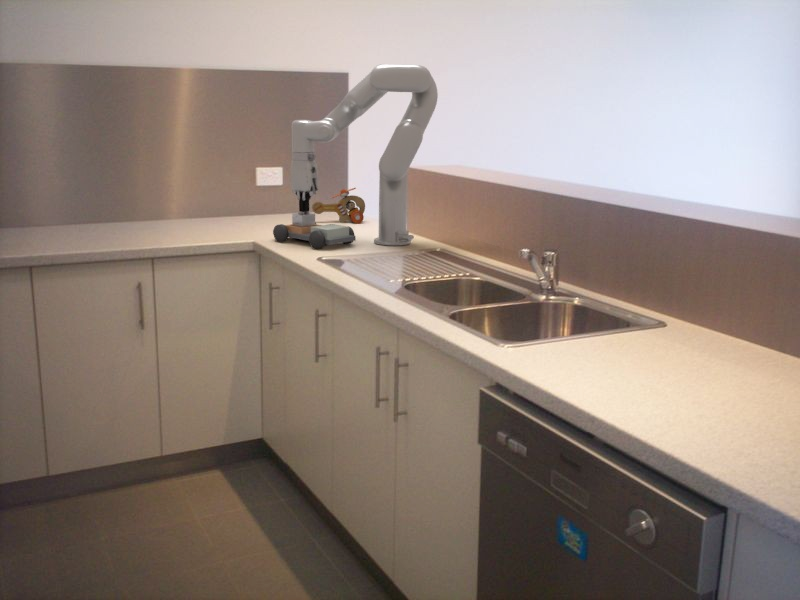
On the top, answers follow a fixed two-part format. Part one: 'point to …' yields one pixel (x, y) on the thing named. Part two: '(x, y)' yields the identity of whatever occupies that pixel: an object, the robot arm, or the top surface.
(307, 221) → the engine block
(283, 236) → the chassis
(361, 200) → the toy helicopter
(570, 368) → the top surface
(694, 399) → the top surface
